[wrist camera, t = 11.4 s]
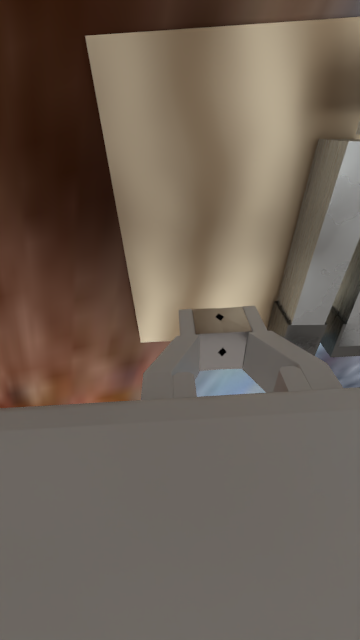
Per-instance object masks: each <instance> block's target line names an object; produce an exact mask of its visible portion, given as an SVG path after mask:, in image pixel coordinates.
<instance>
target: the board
mask: <svg viewBox="0 0 360 640" xmlns="http://www.w3.org/2000/svg"><path fill="white" fill-rule="evenodd" d="M85 38H86V44H87V49H88V55H89V60H90V66H91V71H92V77H93V82H94V88H95V93H96V99H97V104H98V110H99V115H100V121H101V126H102V132H103V137H104V143H105V148H106V153H107V159H108V164H109V170H110V175H111V181H112V186H113V192H114V197H115V203H116V208H117V214H118V219H119V225H120V230H121V236H122V241H123V247H124V252H125V258H126V263H127V268H128V274H129V279H130V285H131V290H132V296H133V301H134V307H135V312H136V318H137V323H138V329H139V334H140V340H141V342H160V341H173V339H174V338H175V337H176V336H180V332H179V310H180V309H191V310H192V309H205V308H231V307H241V306H253V305H254V306H255V307H256V308H257V310H258V312H259V314H260V316H261V318H262V321H263V323H264V325H265V327H266V329H267V328H268V324H269V320H270V316H271V312H272V308H273V304H274V301H277V298H278V294H279V291H280V287H281V283H282V279H283V275H284V271H285V267H286V263H287V259H288V255H289V251H290V248H291V244H292V240H293V236H294V232H295V228H296V224H297V220H298V216H299V212H300V208H301V205H302V201H303V197H304V193H305V189H306V185H307V181H308V177H309V173H310V169H311V166H312V162H313V158H314V154H315V150H316V146H317V142H318V139H360V135H356V131H357V128H358V124H359V121H360V17H350V18H335V19H321V20H306V21H292V22H278V23H263V24H249V25H234V26H220V27H205V28H191V29H176V30H162V31H147V32H133V33H118V34H104V35H89V36H85Z"/></svg>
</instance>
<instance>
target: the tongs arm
mask: <svg viewBox="0 0 360 640" xmlns="http://www.w3.org/2000/svg"><path fill="white" fill-rule="evenodd" d="M359 238H360V139H318V142H317V146H316V150H315V154H314V158H313V162H312V166H311V169H310V173H309V177H308V181H307V185H306V189H305V193H304V197H303V201H302V205H301V208H300V212H299V216H298V220H297V224H296V228H295V232H294V236H293V240H292V244H291V248H290V251H289V255H288V259H287V263H286V267H285V271H284V275H283V279H282V283H281V287H280V291H279V294H278V298H277V301H274V304H273V308H272V312H271V316H270V320H269V324H268V328H267V331H273V332H274V333H276V334H278V335H280V336H281V337H283V338H285V339H286V340H288V341H290V342H291V343H293V344H295V345H296V346H298V347H300V348H302V349H303V350H305V351H307V352H308V353H310V354H312V355H313V356H315V354H316V351H317V349H318V346H319V344H320V341H321V339H322V337H323V334H324V332H325V329H326V327H327V324H326V320H327V317H328V315H329V312H330V310H331V307H332V305H333V302H334V300H335V298H336V295H337V293H338V290H339V288H340V285H341V283H342V280H343V278H344V275H345V273H346V270H347V268H348V266H349V263H350V261H351V258H352V256H353V253H354V251H355V248H356V246H357V243H358V241H359Z"/></svg>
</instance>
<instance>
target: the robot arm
mask: <svg viewBox="0 0 360 640" xmlns="http://www.w3.org/2000/svg"><path fill="white" fill-rule="evenodd" d="M179 332H180V336H176V337H175V338H174V339H173V341H172V342H171V343H170V344H169V345H168V346H167V347H166V348H165V350H164V351H163V352H162V353H161V354H160V355H159V356H158V358H157V359H156V360H155V361H154V362H153V363H152V364H151V365H150V367H149V368H148V369H147V370H146V371H145V372H144V373H143V383H142V394H141V400H136V401H119V402H102V403H85V404H68V405H50V406H33V407H16V408H0V640H360V388H343V387H342V385H341V384H340V382H339V381H338V379H337V378H336V376H335V375H334V373H333V372H332V370H331V369H330V367H329V366H328V364H327V363H325V362H324V361H322V360H320V359H319V358H317V357H315V356H313V355H312V354H310V353H308V352H307V351H305V350H303V349H302V348H300V347H298V346H296V345H295V344H293V343H291V342H290V341H288V340H286V339H285V338H283V337H281V336H280V335H278V334H276V333H274V332H273V331H267V329H266V327H265V325H264V323H263V321H262V318H261V316H260V314H259V312H258V310H257V308H256V307H255V306H254V305H253V306H241V307H231V308H205V309H192V310H191V309H180V310H179ZM242 368H243V370H244V371H245V372H246V373H247V374H248V375H249V376H250V377H251V378H252V379H253V380H254V381H255V382H256V383H257V384H258V385H259V386H260V387H261V388H262V389H263V390H264V391H265V392H266V393H255V394H238V395H221V396H204V397H197V396H196V388H195V379H196V377H197V375H198V374H199V371H204V370H216V369H242Z"/></svg>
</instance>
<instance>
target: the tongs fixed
mask: <svg viewBox="0 0 360 640" xmlns="http://www.w3.org/2000/svg"><path fill="white" fill-rule="evenodd" d="M356 135H360V121H359V124H358V128H357V131H356ZM326 324H327V327H326V329H325V332H324V334H323V337H322V339H321V341H320V342H321V344H322V345H323V347H324V348H325V350H326V351H327V353H328V354H329V356H330V357H345V356H360V238H359V241H358V243H357V246H356V248H355V251H354V253H353V256H352V258H351V261H350V263H349V266H348V268H347V270H346V273H345V275H344V278H343V280H342V283H341V285H340V288H339V290H338V293H337V295H336V298H335V300H334V302H333V305H332V307H331V310H330V312H329V315H328V317H327V320H326Z"/></svg>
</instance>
